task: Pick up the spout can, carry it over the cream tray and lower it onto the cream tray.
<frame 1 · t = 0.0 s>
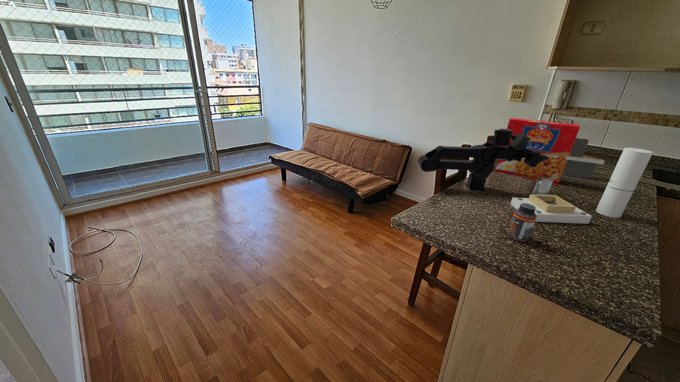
hand: (541, 154, 118), 17 cm above the counter, tool horizontal, fingers open, 9 cm apart
spout can: (538, 198, 116), on the counter
pasta box: (525, 176, 143), on the counter
architectural model: (569, 175, 148), on the counter
cream tray: (547, 213, 103), on the counter
cylindrical container: (607, 213, 105), on the counter
supplement bottle: (516, 237, 86), on the counter
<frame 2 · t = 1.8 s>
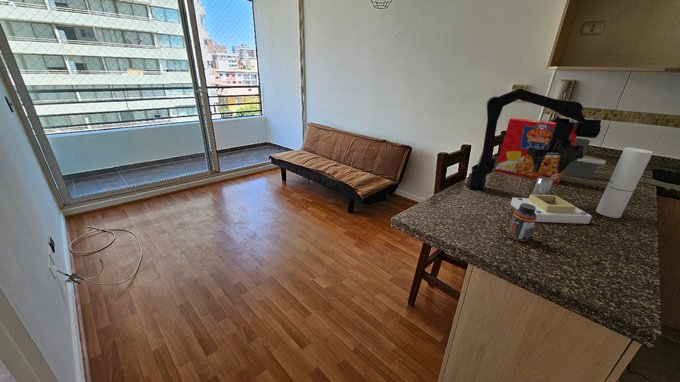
hand: (547, 173, 111), 12 cm above the counter, tool pointing down, fingers open, 9 cm apart
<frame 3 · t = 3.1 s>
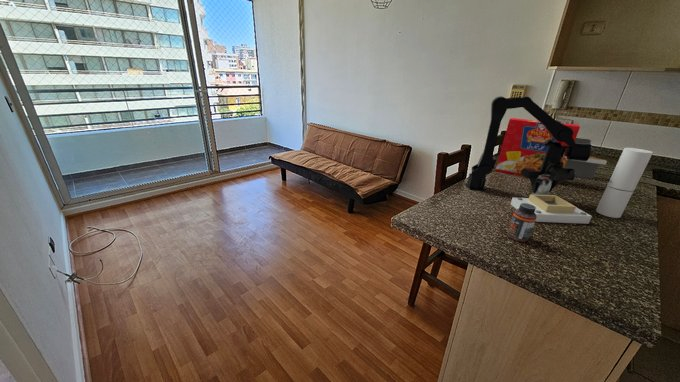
hand: (540, 193, 115), 3 cm above the counter, tool pointing down, fingers closed on spout can, 5 cm apart
spout can: (538, 198, 116), on the counter, touching gripper
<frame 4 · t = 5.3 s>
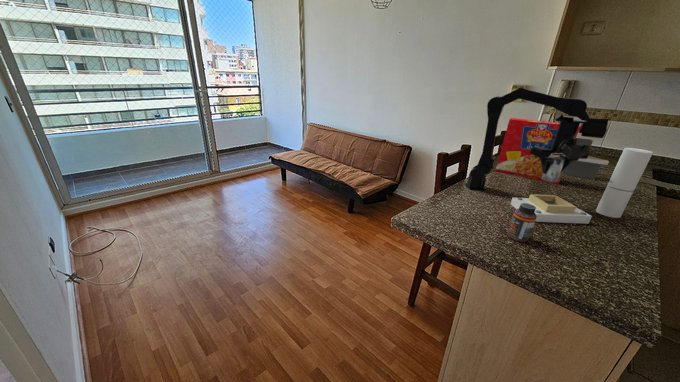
hand: (551, 173, 107), 13 cm above the counter, tool pointing down, fingers closed on spout can, 5 cm apart
spout can: (549, 179, 108), point 10 cm above the counter, touching gripper
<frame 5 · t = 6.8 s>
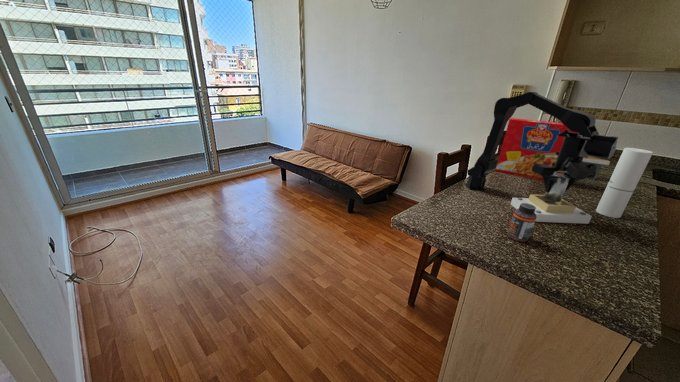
hand: (554, 192, 100), 9 cm above the counter, tool pointing down, fingers closed on spout can, 5 cm apart
spout can: (552, 198, 101), point 6 cm above the counter, touching gripper
when the fingers open (7 cm above the counter, at t = 7.8 s): spout can drops 1 cm, resting on cream tray.
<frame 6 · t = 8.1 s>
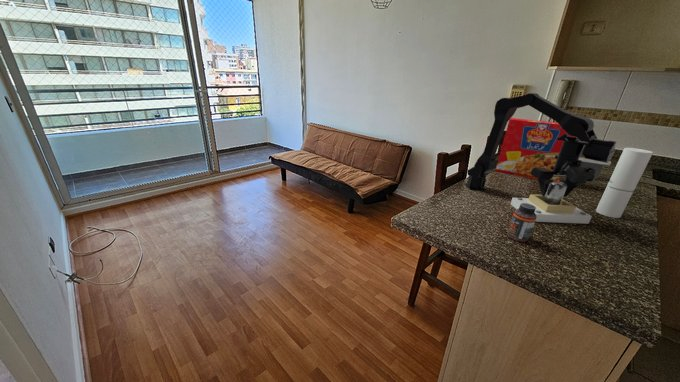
hand: (553, 196, 100), 7 cm above the counter, tool pointing down, fingers open, 8 cm apart
spout can: (550, 205, 102), point 3 cm above the counter, touching cream tray
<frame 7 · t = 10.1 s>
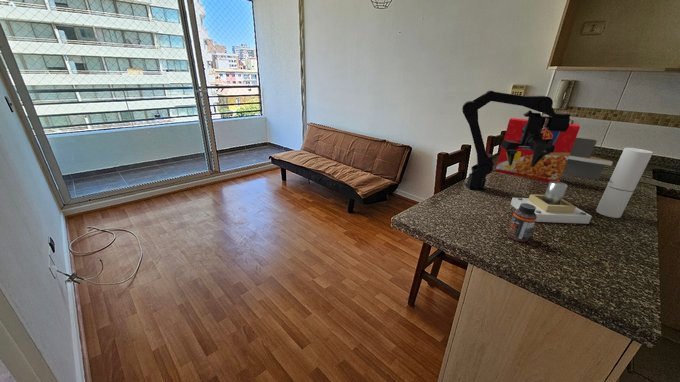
hand: (521, 166, 115), 13 cm above the counter, tool pointing down, fingers open, 9 cm apart
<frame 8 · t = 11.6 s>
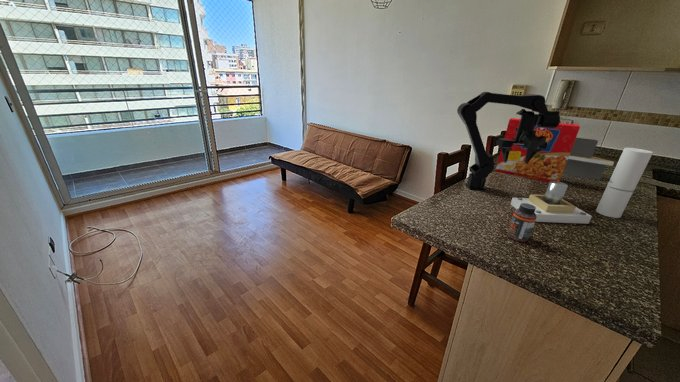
hand: (515, 163, 118), 13 cm above the counter, tool pointing down, fingers open, 9 cm apart
at the end: spout can 0.0 cm off-centre on the cream tray, point 3.2 cm above the cream tray's base; spout can tilted 1°; the gripper is holding nothing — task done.
